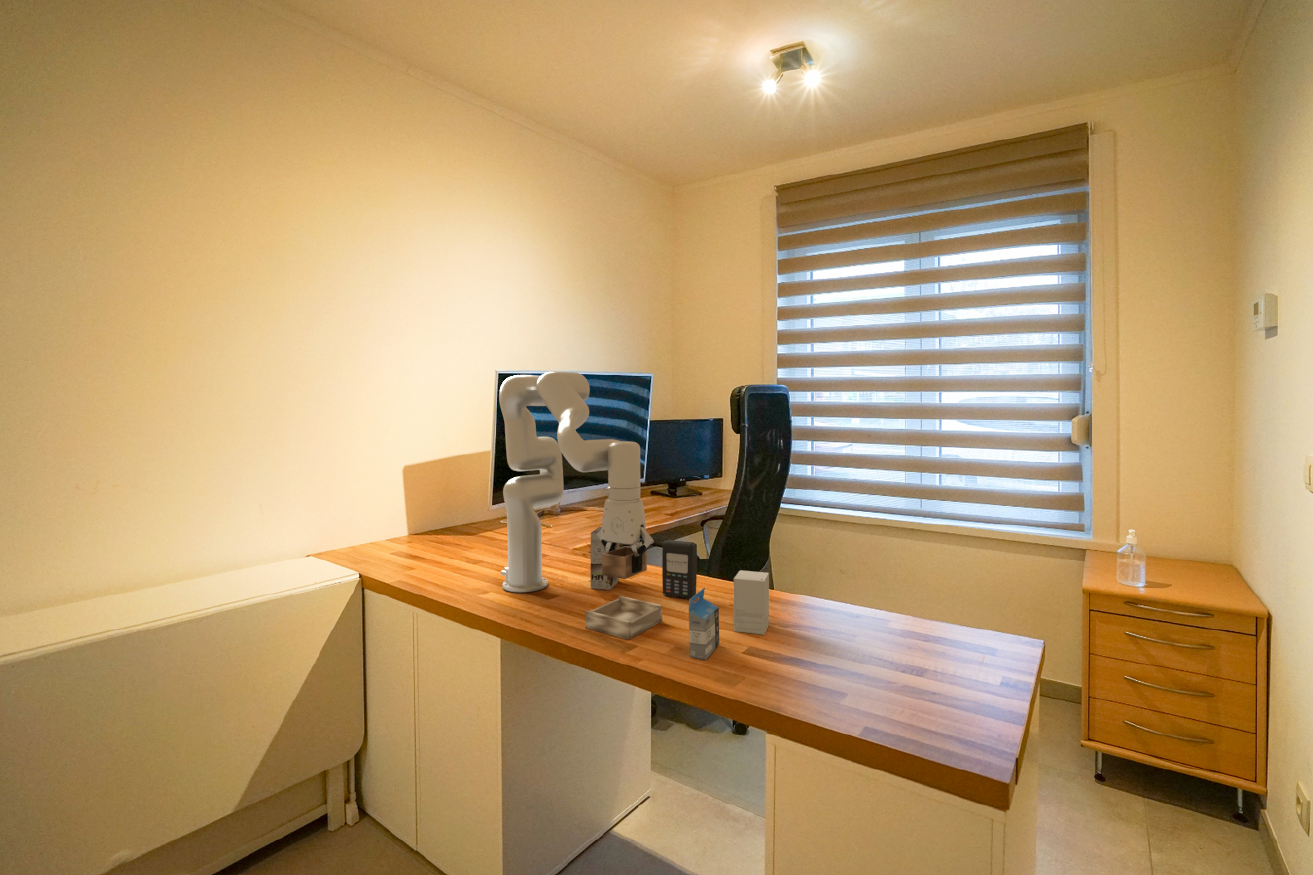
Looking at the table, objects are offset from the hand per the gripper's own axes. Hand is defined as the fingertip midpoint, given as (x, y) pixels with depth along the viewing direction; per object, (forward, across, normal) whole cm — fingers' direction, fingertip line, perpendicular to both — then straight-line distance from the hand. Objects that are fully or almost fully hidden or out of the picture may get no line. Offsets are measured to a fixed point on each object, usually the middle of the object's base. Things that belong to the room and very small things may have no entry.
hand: (624, 568), depth 143 cm
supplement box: (+14, +26, +15) cm, 33 cm away
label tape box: (+14, +23, -2) cm, 27 cm away
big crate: (+13, 0, 0) cm, 13 cm away
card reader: (+14, 0, +25) cm, 29 cm away
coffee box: (+13, -23, +22) cm, 35 cm away
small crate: (+1, 0, 0) cm, 1 cm away
